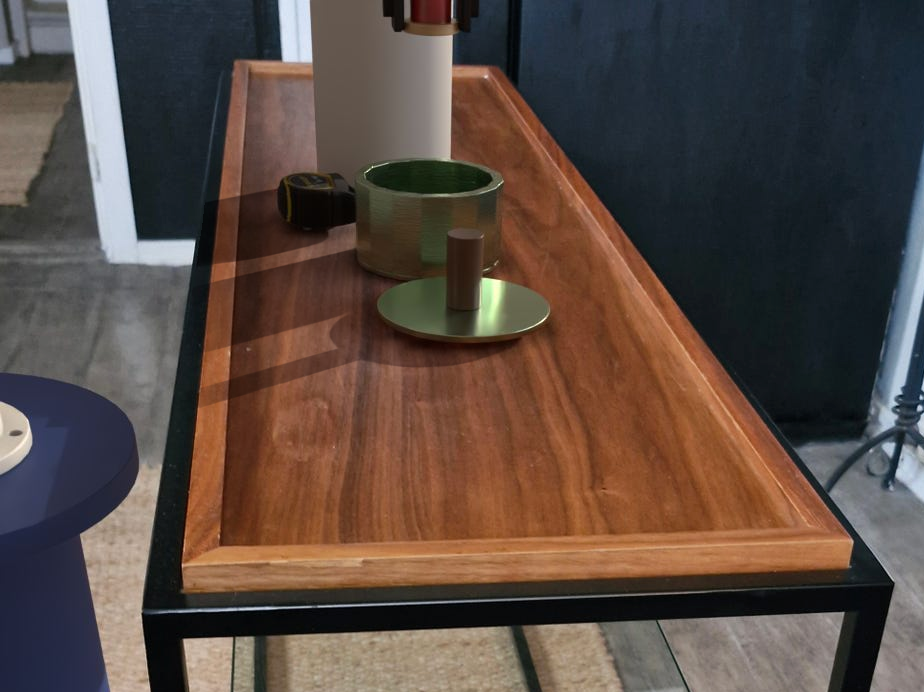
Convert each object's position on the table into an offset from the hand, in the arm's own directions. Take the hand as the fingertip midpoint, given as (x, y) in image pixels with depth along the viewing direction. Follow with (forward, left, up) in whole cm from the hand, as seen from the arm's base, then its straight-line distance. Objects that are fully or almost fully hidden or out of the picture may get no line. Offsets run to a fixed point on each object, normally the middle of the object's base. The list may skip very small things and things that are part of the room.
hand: (430, 26), depth 90 cm
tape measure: (-8, +10, -17) cm, 21 cm away
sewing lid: (+1, -14, -16) cm, 21 cm away
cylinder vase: (-2, +21, -17) cm, 27 cm away
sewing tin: (0, 0, -17) cm, 17 cm away
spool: (0, 0, 0) cm, 0 cm away
